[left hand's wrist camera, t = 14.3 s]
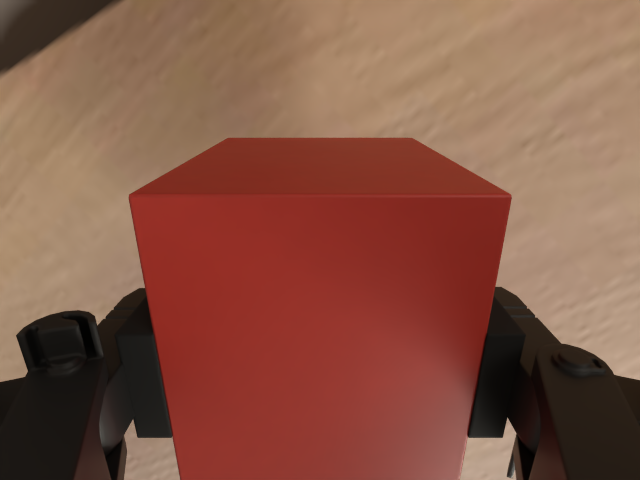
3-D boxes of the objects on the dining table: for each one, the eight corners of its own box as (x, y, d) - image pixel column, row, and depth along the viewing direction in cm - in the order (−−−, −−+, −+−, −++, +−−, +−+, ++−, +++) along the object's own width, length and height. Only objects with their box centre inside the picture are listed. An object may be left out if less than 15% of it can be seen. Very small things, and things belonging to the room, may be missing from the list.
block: (243, 339, 17) (187, 526, 10) (226, 137, 14) (126, 194, 7) (396, 339, 17) (452, 526, 10) (413, 137, 14) (513, 194, 7)
